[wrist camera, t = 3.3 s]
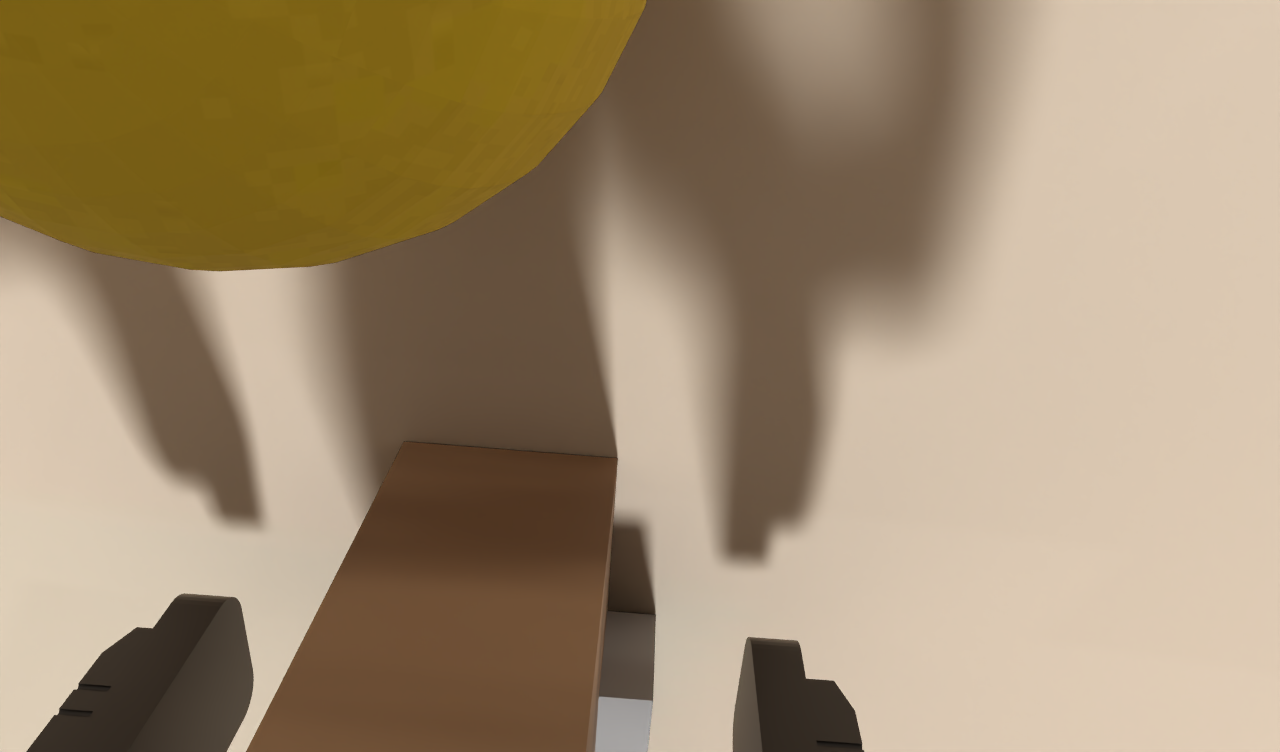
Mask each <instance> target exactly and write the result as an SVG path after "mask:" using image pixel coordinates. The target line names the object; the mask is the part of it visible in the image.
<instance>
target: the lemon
mask: <svg viewBox="0 0 1280 752" xmlns="http://www.w3.org/2000/svg"><path fill="white" fill-rule="evenodd" d="M646 1H647V0H0V216H1V217H3V218H5V219H8V220H10V221H13V222H15V223H18V224H20V225H23V226H25V227H28V228H30V229H33V230H35V231H38V232H40V233H43V234H45V235H48V236H50V237H52V238H55V239H57V240H60V241H62V242H65V243H68V244H71V245H74V246H77V247H80V248H82V249H85V250H88V251H91V252H94V253H100V254H105V255H111V256H116V257H122V258H128V259H133V260H139V261H144V262H150V263H156V264H161V265H167V266H173V267H178V268H184V269H189V270H206V271H233V270H253V269H273V268H292V267H311V266H317V265H324V264H330V263H336V262H339V261H342V260H345V259H348V258H352V257H355V256H358V255H361V254H364V253H367V252H370V251H373V250H377V249H380V248H383V247H386V246H389V245H392V244H395V243H398V242H401V241H405V240H408V239H411V238H414V237H417V236H420V235H423V234H426V233H429V232H433V231H436V230H439V229H441V228H443V227H445V226H447V225H449V224H451V223H453V222H455V221H456V220H458V219H459V218H461V217H462V216H464V215H465V214H467V213H468V212H470V211H471V210H473V209H474V208H476V207H477V206H479V205H480V204H482V203H483V202H485V201H486V200H488V199H490V198H491V197H493V196H494V195H496V194H497V193H499V192H500V191H502V190H503V189H505V188H506V187H508V186H509V185H511V184H512V183H514V182H515V181H517V180H518V179H520V178H521V177H523V176H524V175H526V174H527V173H529V172H530V171H531V170H532V169H534V168H535V167H536V166H538V165H539V163H540V162H541V161H542V160H543V159H544V158H545V157H546V156H547V154H548V153H549V152H550V151H551V150H552V149H553V148H554V147H555V145H556V144H557V143H558V142H559V141H560V140H561V139H562V137H563V136H564V135H565V134H566V133H567V132H568V131H569V130H570V128H571V127H572V126H573V125H574V124H575V123H576V122H577V121H578V119H579V118H580V117H581V116H582V115H583V114H584V113H585V112H586V110H587V109H588V108H589V107H590V106H591V105H592V104H593V103H594V101H595V100H596V99H597V98H598V97H599V95H600V94H601V92H602V91H603V89H604V87H605V85H606V83H607V81H608V79H609V77H610V75H611V73H612V71H613V69H614V67H615V65H616V63H617V62H618V60H619V58H620V56H621V54H622V52H623V50H624V48H625V46H626V44H627V42H628V40H629V38H630V36H631V34H632V32H633V30H634V28H635V26H636V24H637V22H638V20H639V18H640V16H641V14H642V12H643V10H644V8H645V5H646Z"/></svg>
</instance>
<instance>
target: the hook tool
mask: <svg viewBox="0 0 1280 752" xmlns="http://www.w3.org/2000/svg"><path fill="white" fill-rule="evenodd" d="M617 462H618V458H605V457H593V456H580V455H567V454H555V453H542V452H529V451H517V450H504V449H491V448H479V447H466V446H453V445H441V444H428V443H415V442H403V444H402V446H401V448H400V450H399V452H398V454H397V456H396V458H395V460H394V462H393V464H392V466H391V468H390V470H389V472H388V474H387V476H386V478H385V480H384V482H383V484H382V486H381V487H380V489H379V491H378V493H377V495H376V497H375V499H374V501H373V503H372V505H371V507H370V509H369V511H368V513H367V515H366V517H365V519H364V521H363V523H362V525H361V527H360V529H359V531H358V533H357V535H356V537H355V539H354V541H353V543H352V545H351V546H350V548H349V550H348V552H347V554H346V556H345V558H344V560H343V562H342V564H341V566H340V568H339V570H338V572H337V574H336V576H335V578H334V580H333V582H332V584H331V586H330V588H329V590H328V592H327V594H326V596H325V598H324V600H323V602H322V604H321V605H320V607H319V609H318V611H317V613H316V615H315V617H314V619H313V621H312V623H311V625H310V627H309V629H308V631H307V633H306V635H305V637H304V639H303V641H302V643H301V645H300V647H299V649H298V651H297V653H296V655H295V657H294V659H293V661H292V663H291V664H290V666H289V668H288V670H287V672H286V674H285V676H284V678H283V680H282V682H281V684H280V686H279V688H278V690H277V692H276V694H275V696H274V698H273V700H272V702H271V704H270V706H269V708H268V710H267V712H266V714H265V716H264V718H263V720H262V722H261V723H260V725H259V727H258V729H257V731H256V733H255V735H254V737H253V739H252V741H251V743H250V745H249V747H248V749H247V751H246V752H648V743H649V734H650V724H651V715H652V705H653V684H654V653H655V621H656V615H651V614H638V613H625V612H613V611H607V608H608V593H609V579H610V564H611V549H612V535H613V520H614V506H615V491H616V476H617Z"/></svg>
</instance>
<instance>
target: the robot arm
mask: <svg viewBox="0 0 1280 752" xmlns="http://www.w3.org/2000/svg"><path fill="white" fill-rule="evenodd" d="M252 691H253V668H252V663H251V657H250V652H249V646H248V641H247V635H246V630H245V625H244V619H243V614H242V608H241V605H240V602H239V601H238V599H236V598H235V597H224V596H210V595H197V594H181V595H179V596H178V597H176V598H175V599H174V600H173V602H172V603H171V604H170V606H169V607H168V608H167V610H166V611H165V613H164V614H163V615H162V617H161V618H160V620H159V621H158V622H157V624H156V625H155V626H154V628H153V629H152V628H139V627H137V628H135V629H134V630H133V631H131V632H130V633H129V634H127V635H126V636H124V637H123V638H122V639H120V640H119V641H118V642H116V643H115V644H114V645H112V646H111V647H109V648H108V649H107V650H105V651H104V652H103V653H102V654H101V655H100V656H99V658H98V659H97V660H96V661H95V663H94V664H93V665H92V667H91V668H90V669H89V671H88V672H87V673H86V675H85V676H84V677H83V678H82V680H81V681H80V682H79V687H78V689H77V690H73V692H72V693H71V694H70V695H69V697H68V698H67V699H66V701H65V702H64V703H63V705H62V706H61V707H60V708H59V714H58V715H54V716H53V718H52V719H51V720H50V722H49V723H48V724H47V725H46V727H45V728H44V729H43V731H42V732H41V733H40V735H39V736H38V737H37V738H36V740H35V741H34V742H33V744H32V745H31V746H30V748H29V749H28V750H27V752H227V750H228V748H229V746H230V744H231V742H232V740H233V738H234V736H235V735H236V733H237V731H238V729H239V727H240V725H241V723H242V721H243V719H244V717H245V715H246V713H247V710H248V707H249V704H250V700H251V696H252ZM733 752H864V750H862V741H861V736H860V732H859V727H858V723H857V718H856V714H855V710H854V709H853V707H852V706H851V705H850V703H849V702H848V700H847V699H846V697H845V696H844V695H843V693H842V692H841V690H840V689H839V687H838V686H837V685H836V683H835V682H834V681H829V680H815V679H806V677H805V671H804V665H803V659H802V653H801V648H800V645H799V642H798V641H794V640H780V639H767V638H753V637H748V638H747V640H746V644H745V649H744V655H743V662H742V668H741V674H740V680H739V686H738V692H737V698H736V705H735V711H734V722H733Z"/></svg>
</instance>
